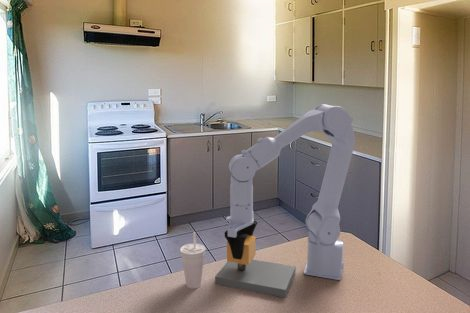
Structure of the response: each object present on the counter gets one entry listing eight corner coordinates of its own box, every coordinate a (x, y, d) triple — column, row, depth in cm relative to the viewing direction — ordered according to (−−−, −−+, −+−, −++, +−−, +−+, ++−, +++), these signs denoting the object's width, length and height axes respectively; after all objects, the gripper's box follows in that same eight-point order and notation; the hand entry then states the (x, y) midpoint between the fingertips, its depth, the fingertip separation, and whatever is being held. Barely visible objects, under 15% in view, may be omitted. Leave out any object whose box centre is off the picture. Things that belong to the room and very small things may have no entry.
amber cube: (255, 254, 98) (255, 236, 97) (248, 264, 92) (248, 245, 91) (234, 251, 100) (234, 233, 99) (227, 261, 94) (226, 241, 93)
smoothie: (202, 292, 89) (201, 238, 87) (177, 289, 90) (175, 236, 88) (209, 279, 95) (208, 228, 93) (185, 276, 97) (184, 226, 94)
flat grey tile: (295, 273, 98) (295, 255, 97) (285, 297, 87) (285, 277, 86) (231, 262, 104) (231, 245, 103) (215, 284, 93) (214, 264, 92)
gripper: (236, 193, 101) (236, 239, 104) (215, 209, 88) (216, 262, 90) (261, 195, 99) (260, 243, 101) (243, 213, 85) (243, 267, 88)
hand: (241, 252), depth 96 cm, fingers closed on amber cube, 6 cm apart
